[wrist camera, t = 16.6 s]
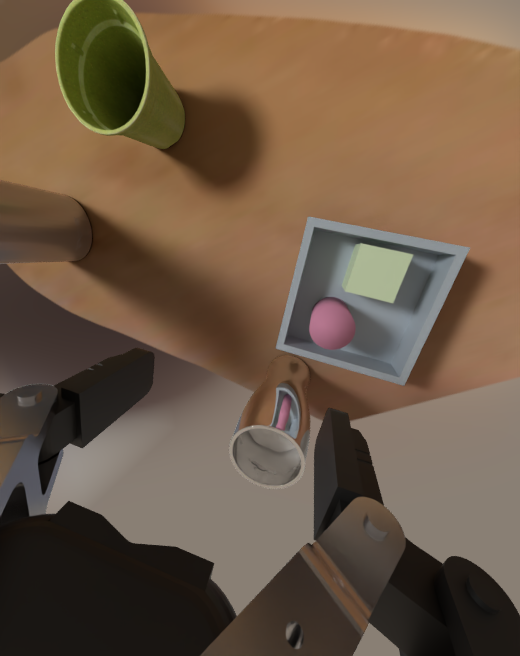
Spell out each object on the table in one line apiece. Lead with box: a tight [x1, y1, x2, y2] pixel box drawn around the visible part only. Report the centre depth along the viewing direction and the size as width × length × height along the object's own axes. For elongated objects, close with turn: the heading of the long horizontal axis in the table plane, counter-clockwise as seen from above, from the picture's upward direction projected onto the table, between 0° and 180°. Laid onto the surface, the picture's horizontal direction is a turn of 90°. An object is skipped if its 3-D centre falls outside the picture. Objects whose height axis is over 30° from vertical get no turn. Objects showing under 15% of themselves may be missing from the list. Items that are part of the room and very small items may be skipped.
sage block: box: [342, 243, 413, 303], centre depth 25 cm, size 5×5×5 cm
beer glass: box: [229, 355, 310, 489], centre depth 27 cm, size 7×7×15 cm
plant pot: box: [55, 0, 185, 149], centre depth 24 cm, size 9×9×9 cm
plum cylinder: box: [309, 297, 356, 350], centre depth 27 cm, size 4×4×6 cm
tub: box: [276, 217, 470, 386], centre depth 27 cm, size 15×15×4 cm
